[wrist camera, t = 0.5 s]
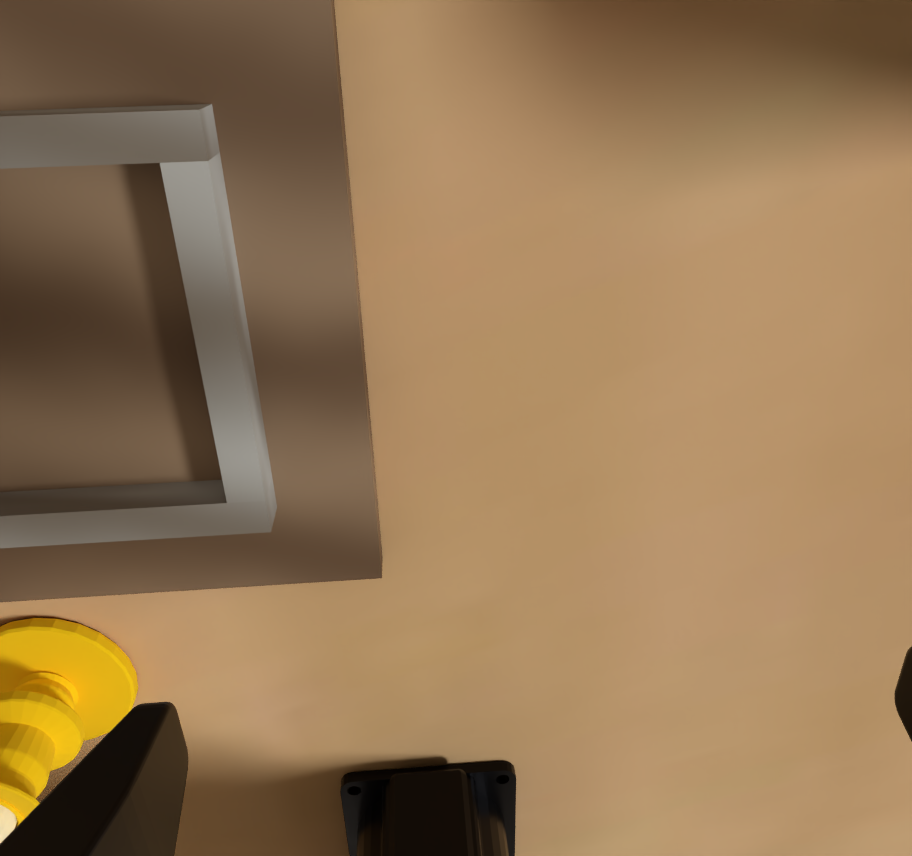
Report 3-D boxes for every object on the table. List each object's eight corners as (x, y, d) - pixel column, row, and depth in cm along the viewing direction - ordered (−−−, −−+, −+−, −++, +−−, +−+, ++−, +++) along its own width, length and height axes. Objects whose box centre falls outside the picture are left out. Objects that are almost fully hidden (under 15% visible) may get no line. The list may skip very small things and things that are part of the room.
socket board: (382, 557, 24) (381, 604, 22) (-150, 590, 23) (-200, 642, 21) (329, -44, 16) (320, -53, 14) (-461, -25, 16) (-583, -32, 14)
